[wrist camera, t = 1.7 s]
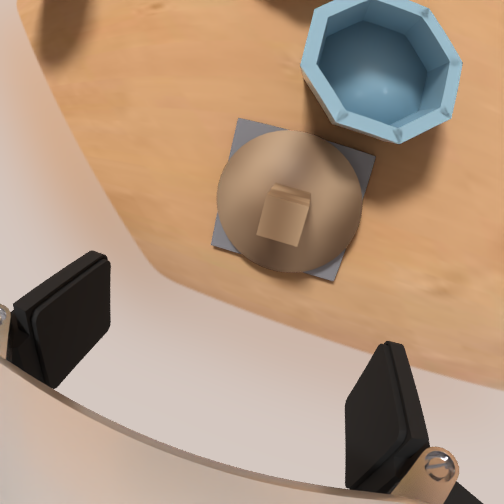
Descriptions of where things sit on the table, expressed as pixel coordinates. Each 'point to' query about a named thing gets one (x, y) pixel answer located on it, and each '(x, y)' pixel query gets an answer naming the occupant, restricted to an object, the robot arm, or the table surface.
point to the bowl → (381, 67)
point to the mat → (356, 158)
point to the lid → (289, 201)
